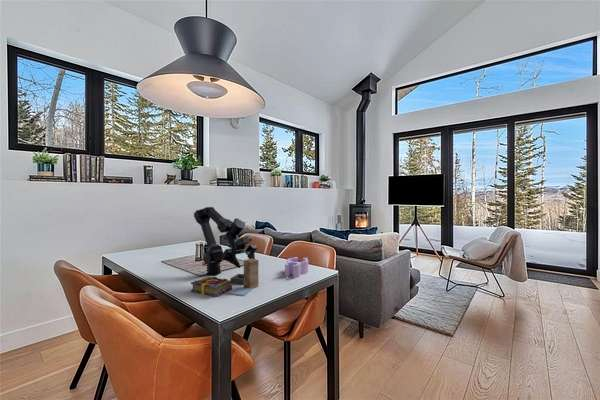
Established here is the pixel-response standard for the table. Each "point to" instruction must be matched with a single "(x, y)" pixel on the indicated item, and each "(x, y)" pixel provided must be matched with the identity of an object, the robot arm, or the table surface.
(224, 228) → the robot arm
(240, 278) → the trap pit
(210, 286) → the decorative book
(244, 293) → the pad
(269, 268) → the table surface
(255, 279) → the tan wooden block
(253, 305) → the table surface
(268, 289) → the table surface
